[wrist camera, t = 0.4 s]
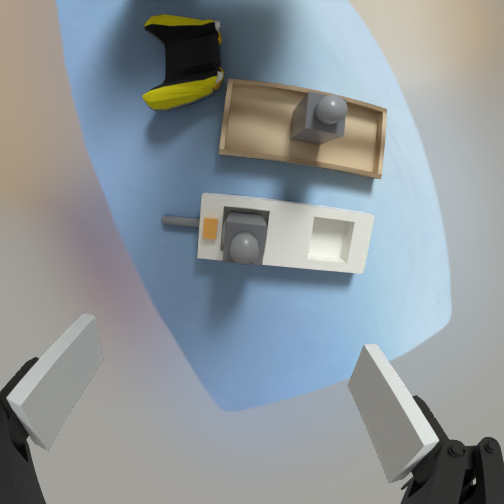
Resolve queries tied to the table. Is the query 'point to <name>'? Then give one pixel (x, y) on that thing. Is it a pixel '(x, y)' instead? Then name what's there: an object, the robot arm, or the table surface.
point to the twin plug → (244, 238)
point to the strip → (287, 232)
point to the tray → (280, 122)
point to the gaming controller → (186, 60)
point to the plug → (319, 118)
